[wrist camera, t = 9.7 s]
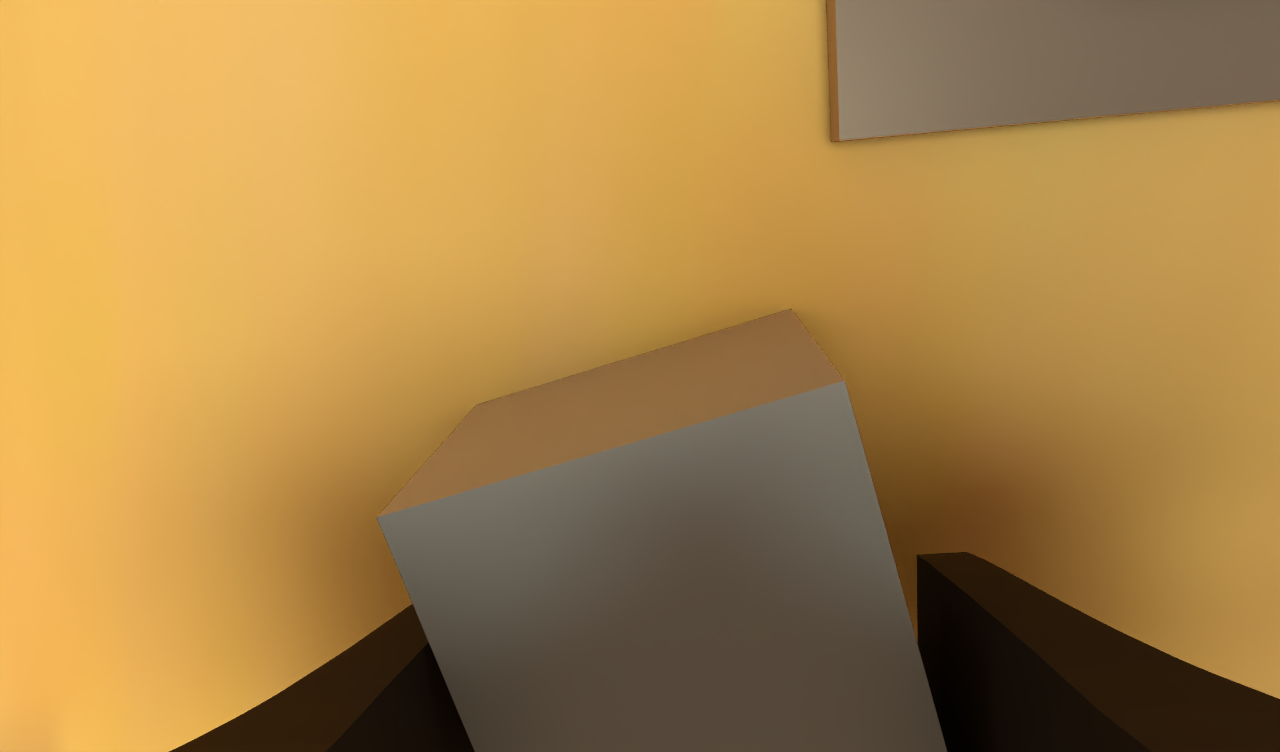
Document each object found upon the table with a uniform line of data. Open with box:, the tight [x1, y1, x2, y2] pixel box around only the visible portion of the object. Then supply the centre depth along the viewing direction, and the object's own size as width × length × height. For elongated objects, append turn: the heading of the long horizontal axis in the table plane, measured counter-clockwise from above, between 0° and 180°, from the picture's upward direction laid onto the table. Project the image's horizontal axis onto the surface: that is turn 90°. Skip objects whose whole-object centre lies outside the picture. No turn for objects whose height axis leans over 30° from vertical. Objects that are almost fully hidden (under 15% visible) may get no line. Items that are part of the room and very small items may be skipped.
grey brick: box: [377, 309, 947, 752], centre depth 10 cm, size 4×7×4 cm, turn 18°
